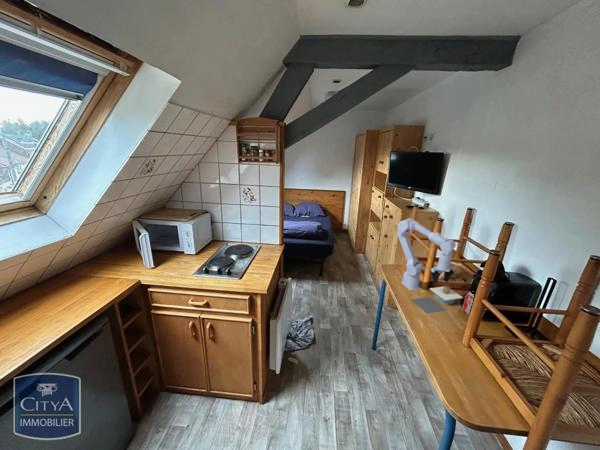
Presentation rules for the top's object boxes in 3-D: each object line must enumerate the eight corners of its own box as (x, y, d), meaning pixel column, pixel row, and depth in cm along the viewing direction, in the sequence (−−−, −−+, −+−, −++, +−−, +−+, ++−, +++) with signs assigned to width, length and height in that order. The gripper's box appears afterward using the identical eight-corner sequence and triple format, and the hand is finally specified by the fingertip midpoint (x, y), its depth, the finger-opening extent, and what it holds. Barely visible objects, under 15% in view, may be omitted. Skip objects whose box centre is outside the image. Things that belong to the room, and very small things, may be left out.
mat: (410, 299, 142) (410, 299, 141) (429, 297, 145) (429, 296, 145) (426, 314, 130) (426, 313, 129) (446, 311, 133) (446, 310, 133)
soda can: (479, 319, 127) (485, 299, 124) (464, 316, 129) (470, 297, 125) (473, 310, 134) (479, 291, 130) (459, 308, 135) (464, 289, 132)
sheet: (429, 288, 146) (431, 282, 145) (445, 286, 149) (447, 280, 148) (445, 300, 135) (447, 293, 134) (462, 298, 138) (464, 291, 137)
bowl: (430, 295, 147) (432, 289, 146) (444, 293, 149) (445, 287, 148) (443, 305, 138) (445, 299, 136) (458, 303, 140) (459, 297, 139)
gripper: (439, 264, 133) (435, 286, 137) (461, 262, 136) (456, 283, 140) (430, 259, 139) (425, 280, 143) (450, 257, 143) (446, 277, 147)
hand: (440, 281), depth 142 cm, fingers open, 7 cm apart
